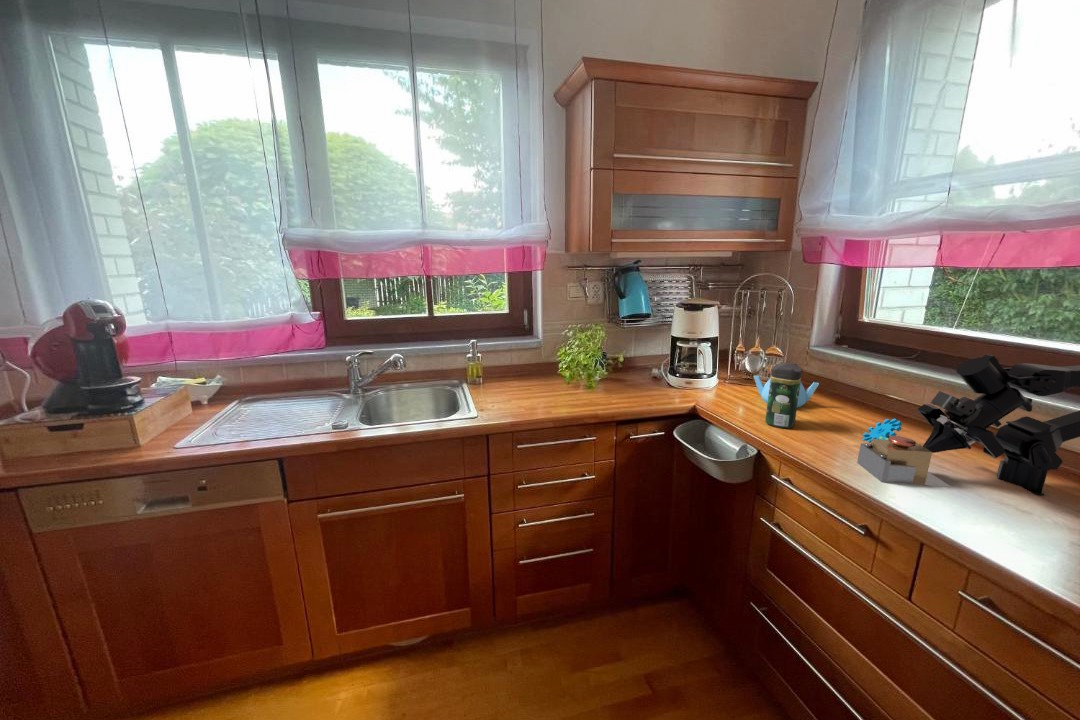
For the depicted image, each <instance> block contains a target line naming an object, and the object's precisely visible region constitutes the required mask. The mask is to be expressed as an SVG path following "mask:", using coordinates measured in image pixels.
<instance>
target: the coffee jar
mask: <svg viewBox="0 0 1080 720" xmlns="http://www.w3.org/2000/svg"><path fill="white" fill-rule="evenodd" d="M802 374H803V369H802V367H801V366H799V365H798V364H797V363H793V362H784V361H783V362H780V363H777V364H774V365H773V367H772V368H771V373H770V378H771V379H770V378H769V379H770V387H769V395H768V403H766V404H767V405H766V413H765V419H764V420H765V421H764V422H765V423H766V424H767V425H770V426H772V427H775V428H779V429H785V428H786V429H790V428H792V427H793V426H794V425H795V423H796V418H797V417H796V416H797V409H798V408H797V403H798V397H799V390H800V383H802Z"/></svg>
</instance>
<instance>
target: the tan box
mask: <svg viewBox="0 0 1080 720" xmlns="http://www.w3.org/2000/svg"><path fill="white" fill-rule="evenodd" d="M870 444H871V448H873V449H874V450H875V451H877V452H878V453H880V454H885V455H887V459H888V460H890V461H891V464H893V465H909V466H915V467H916V470H915V474H914V479H913V481H926V478H927V473H928V472H929V469H930V464H931V460H932V456H933V453H932V452H931V451H930V450H928V449H926V448H924V447H923V445H921V444H919V443H918V442H916V440H913V438H912V439H911V438H908V437H907V436H906V437H905V436H900V435H896V436H889V439H888V440H884V439H872V440H871V443H870Z"/></svg>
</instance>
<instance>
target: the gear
mask: <svg viewBox="0 0 1080 720" xmlns="http://www.w3.org/2000/svg"><path fill="white" fill-rule="evenodd" d="M902 425H903V422H902V421H901V420H897V419H896V418H893V419H891V420H890V419H889V418H886V419H884V420H883V423H882V422H881V421H879V422H876V423H875V428H874V427H873V426H871V427H869V428H867V431H869V433H868V432H867V431H866V432H864V433H863V434H862V436H863V437H862V441H865V442H867V443H868V444H871V440H872V439H884V440H888V439H889V436H898V434H897V433H896V432H900V431H902V429H903V427H902Z"/></svg>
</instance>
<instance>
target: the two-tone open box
mask: <svg viewBox="0 0 1080 720" xmlns="http://www.w3.org/2000/svg"><path fill="white" fill-rule="evenodd" d="M856 464H857V465H859V466H860V467H861V468H863V469H864V470H865V471H867V472H868V473H869V474H870V475H871V476H872V477H874V478H876V479H877V480H878V481H879V482H881V483H888V484H890V483H891V484H902V485H903V484H904V485H917V486H919V485H920V486H930V487H931V486H932V487H946V488H952V486H951V485H949V484H948V483H946V482H945V481H943V479H940V478H939V477H938V476H935V475H934V474H933V473H931V472H929V471H928V473H927V478H926V481H913V479H914V474H915V470H916V467H915V466H909V465H893V464H891V461H890V460H888V459H887V455H885V454H880V453H878V452H877V451H875V450H874V449H873V448H871V443H868V442H867V443H860V445H859V451H858V457H857V463H856Z"/></svg>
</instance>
